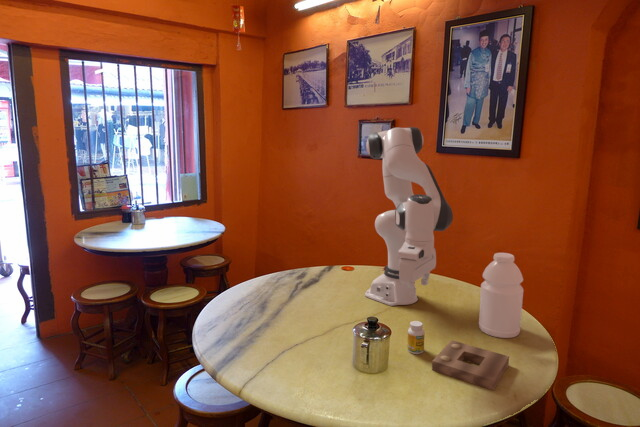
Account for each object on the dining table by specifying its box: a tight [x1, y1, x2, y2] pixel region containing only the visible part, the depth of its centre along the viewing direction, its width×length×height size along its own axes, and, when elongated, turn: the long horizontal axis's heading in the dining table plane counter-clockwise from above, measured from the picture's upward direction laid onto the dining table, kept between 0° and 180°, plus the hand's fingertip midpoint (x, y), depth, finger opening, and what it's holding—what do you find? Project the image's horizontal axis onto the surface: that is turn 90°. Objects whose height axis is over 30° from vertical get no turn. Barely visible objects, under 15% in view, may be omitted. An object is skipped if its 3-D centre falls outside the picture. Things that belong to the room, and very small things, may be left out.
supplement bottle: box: [407, 320, 425, 355], centre depth 143 cm, size 5×5×10 cm
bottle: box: [478, 252, 525, 339], centre depth 155 cm, size 14×14×28 cm
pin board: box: [431, 339, 510, 391], centre depth 133 cm, size 18×16×3 cm
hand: (418, 288), depth 140 cm, fingers open, 8 cm apart
